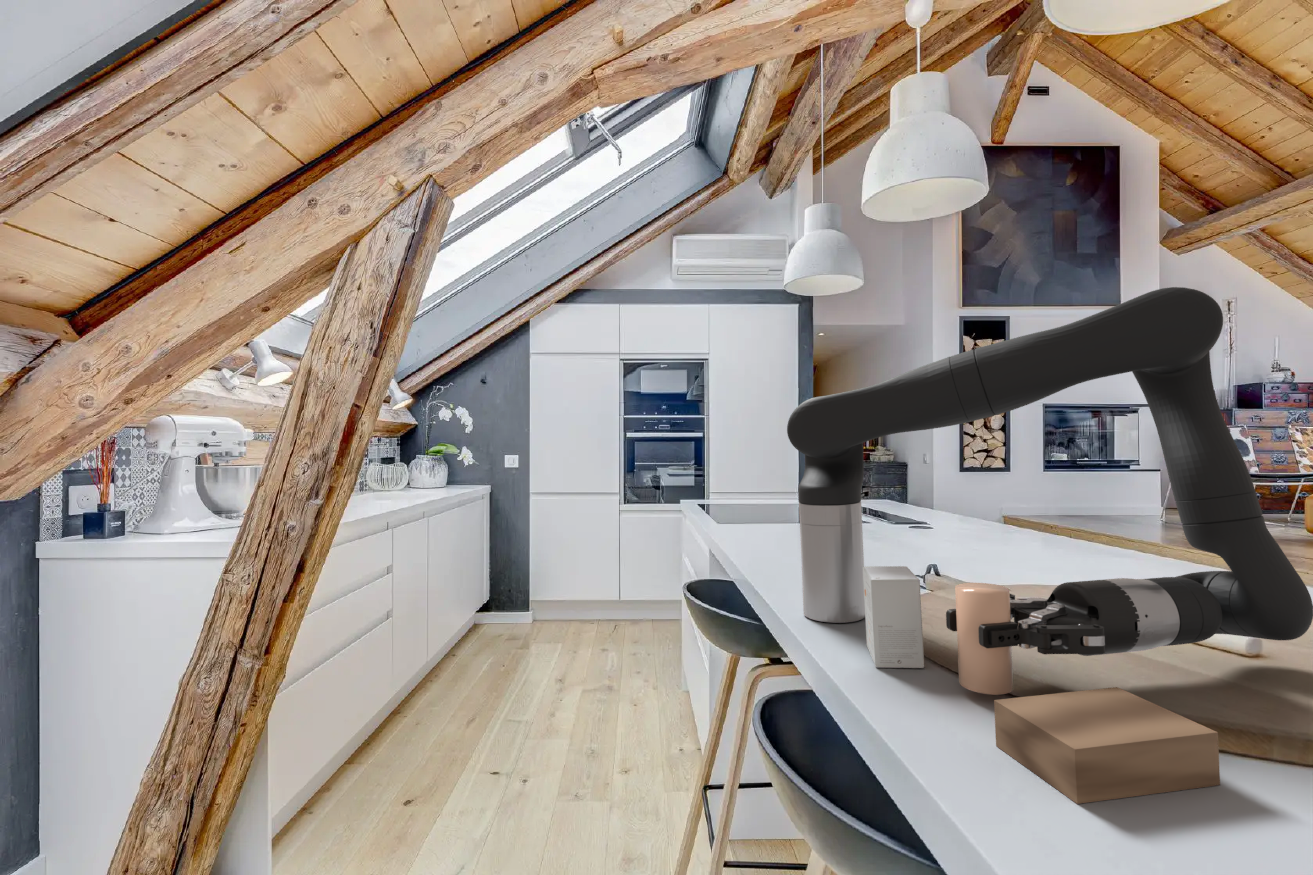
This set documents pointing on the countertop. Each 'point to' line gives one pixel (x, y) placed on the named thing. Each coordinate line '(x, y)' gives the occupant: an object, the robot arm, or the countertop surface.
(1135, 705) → the walnut plinth
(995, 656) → the terracotta canister
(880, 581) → the small box
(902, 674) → the countertop surface
